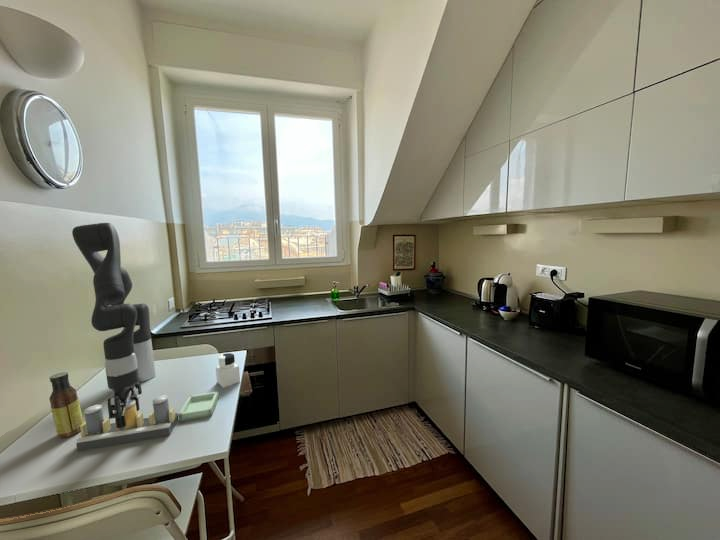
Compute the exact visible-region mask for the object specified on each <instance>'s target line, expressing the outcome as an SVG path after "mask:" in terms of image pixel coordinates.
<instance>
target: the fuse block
mask: <svg viewBox="0 0 720 540" xmlns="http://www.w3.org/2000/svg"><path fill="white" fill-rule="evenodd" d="M178 414H179V413H178V412H176V411H175V407H172V408H170V409H169V419H170V421H169V422H168V423H165V424H159V425H155V417H154V410H153V411H151V412H150V413H149V415H148V417H145V418H144V412H140V413H138V414H137V417H136V420H137V427H136V428H135V429H129V430H122V428H117V427H116V420H114V422H113V423H111V419H109V417H106V419H104V422H103V423H102V426H103V433H102V434H99V435H92V436H88V433H87V427H86V421H83V424H82V425H81V426H80V430H81V431H80V435H81V437H79V438H78V439H77V440H76V442H75V443H76V450H77V452H81V451H88V450H92V449H98V448H99V449H100V448H105V447H111V446H116V445H122V444H127V443H134V442H139V441H144V440H149V439H157V438H162V437H169V436H170V435H171V434H172V432H173V430H174V429H175V427H176V425H177V423H178V422H179V416H178Z"/></svg>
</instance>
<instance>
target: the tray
mask: <svg viewBox="0 0 720 540" xmlns="http://www.w3.org/2000/svg"><path fill="white" fill-rule="evenodd" d="M219 394H220V393H219V391H213V392H205V393H199V394H193V395H189V396H188V397H187V399H186V401H185V402H184V404H183V406H182V407H181V409H180V411H179V413H178V422H183V421H184V422H185V421H191V420H197V419H202V418H203V419H204V418H208V417H212V416H213V413H214V411H215V409H216V406H217V403H218V401H219V399H220V396H219Z"/></svg>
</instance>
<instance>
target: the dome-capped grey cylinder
mask: <svg viewBox="0 0 720 540" xmlns="http://www.w3.org/2000/svg"><path fill="white" fill-rule="evenodd" d="M83 412H84V419H85V422H86V427H87V433H88V436H92V435H99V434H102V433H103V426H102V423H103V422H104V421H105V419H104V411H103V405H102V404H95V405H92V406H89V407H87V408H85V409H84V410H83Z"/></svg>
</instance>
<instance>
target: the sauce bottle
mask: <svg viewBox="0 0 720 540" xmlns="http://www.w3.org/2000/svg"><path fill="white" fill-rule="evenodd" d="M68 373H69V372H66V371H62V372H57V373H54V374H52V375H51V376H49V382H50V383H51V387H52V392H51V394H50V396H49V402H50V409H51V413H52V418H53V422H54V425H55V429H56V434H57V436H58V437H59V438H67V437H71V436H74V435H76V434H79V433H81V430H80V426H81V425H82V424H83V423H84V418H83V413H82V410H81V409H82V408H81V404H80V400H79V397H78V394H77V390H76V388H74V387H73V386H72V385H71V384H70V380H69V374H68Z"/></svg>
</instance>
